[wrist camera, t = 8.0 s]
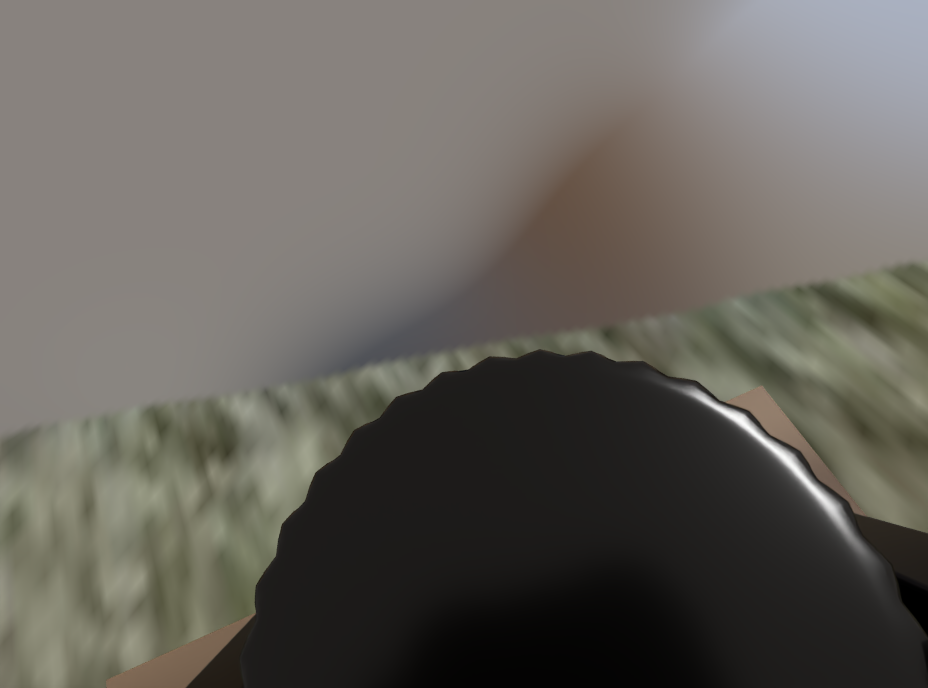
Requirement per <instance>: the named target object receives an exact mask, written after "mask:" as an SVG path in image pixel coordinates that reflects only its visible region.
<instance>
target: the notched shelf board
mask: <svg viewBox="0 0 928 688" xmlns="http://www.w3.org/2000/svg"><path fill="white" fill-rule="evenodd" d="M726 403H729V404H732V405H736V406H738V407H741V408H744V409H746V410H749V411H750V412H751V413H752V414H753V415H754V416H755V417H756V418H757V419H758V421H759V422H760V423H761V425H762V427H763V428H764V429H765V430H766V431H767V432H768V433H769V434H770V435H771V436H774V437H776V438H778V439H780V440H782V441H784V442H786V443H788V444H789V445H791V446H793V447H795V448H796V449H798V450H800V451H801V452H802V454H803V455H804V457H805V458H806V460H807V461H808V463H809V464H810V466H811V469H812V471H813V472H814V474H815V475H816V477H817V478H818V480H820V481H821V482H823V483H824V484H826V485H827V486H828V487H830V488H831V489H833V490H834V491H835V492H837V493H838V494H839V495H840V496H842V497H843V498H844V499H846V500H847V501H848V502H849V504H850V506H851V508H852V510H853V512H854V513H856V514H859V515H863V516H866V515H865V513H864V512H863V511H862V510H861V509H860V507H859V506H858V505H857V504H856V502H855V501H854V500H853V499H852V497H851V496H850V495H849V494H848V492H847V491H846V490H845V489H844V487H843V486H842V485H841V484H840V482H839V481H838V480H837V479H836V477H835V476H834V475H833V474H832V472H831V471H830V470H829V469H828V467H827V466H826V465H825V464H824V462H823V461H822V460H821V459H820V457H819V456H818V455H817V454H816V452H815V451H814V450H813V449H812V448H811V446H810V445H809V444H808V443H807V441H806V440H805V439H804V438H803V436H802V435H801V434H800V433H799V431H798V430H797V429H796V428H795V426H794V425H793V424H792V423H791V421H790V420H789V419H788V418H787V416H786V415H785V414H784V413H783V411H782V410H781V409H780V408H779V406H778V405H777V404H776V403H775V401H774V400H773V399H772V398H771V396H770V395H769V394H768V393H767V391H766V390H765V389H764V388H763V387H762V386H759V387H757V388H755V389H753V390H751V391H748V392H746V393H744V394H742V395H739V396H737V397H735V398H733V399H731V400H728V401H726ZM255 614H256V613H254V614H252V615H250V616H248V617H246V618H243V619H241V620H239V621H237V622H234V623H232V624H230V625H228V626H226V627H223V628H221V629H219V630H217V631H214V632H212V633H210V634H208V635H206V636H203V637H201V638H199V639H197V640H194V641H192V642H190V643H188V644H186V645H183V646H181V647H179V648H177V649H174V650H172V651H170V652H168V653H165V654H163V655H161V656H159V657H157V658H154V659H152V660H150V661H148V662H145V663H143V664H141V665H139V666H137V667H134V668H132V669H130V670H128V671H125V672H123V673H121V674H119V675H117V676H114V677H112V678H110V679H108V680H106V684H107V688H186V686H187V685H188V684H189V683H190V682H191V681H192V680H193V679H194V678H195V677H196V676H197V675H198V674H199V673H200V672H201V671H202V670H203V669H204V668H205V667H206V665H207V664H208V663H209V662H210V661H211V660H212V659H213V658H214V657H215V656H216V655H217V654H218V653H219V652H220V651H221V650H222V649H223V648H224V647H225V646H226V644H227V643H228V642H229V641H230V640H231V639H232V638H233V637H234V636H235V635H236V634H237V633H238V632H239V631H240V630H241V629H242V628H243V627H244V626H245V625H246V623H247V622H248V621H249V620H250V619H251V618H252V617H253V616H254V615H255Z"/></svg>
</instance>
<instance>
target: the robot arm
mask: <svg viewBox="0 0 928 688" xmlns="http://www.w3.org/2000/svg"><path fill="white" fill-rule="evenodd" d="M854 514H855V516H856V518H857V523H858V526H859V528H860V530H861V532H862V534H863V536H865V537H866V538H867V539H868V540H869V541H870V542H871V543H872V544H873V545H874V546H875V547H876V548H877V549H878V550H879V551H880V552H881V553H882V554H883V555H884V556H885V557H886V558H887V559H888V560H889V561H890V563H891V564H892V565H893V568H894V571H895V574H896V577H897V581H898V584H899V589H900V594H901V599H902V602H903V603H904V605H905V606H906V607H907V608H908V610H909V611H910V612H911V613H912V615H913V616H914V617H915V618H916V620H917V621H918V623H919V624H920V625H921V627H922V628H923V630H924V631H925V633H926V634H927V635H928V533H925V532H921V531H917V530H914V529H910V528H906V527H903V526H899V525H896V524H892V523H888V522H885V521H881V520H878V519H874V518H870V517H867V516H863V515H859V514H856V513H854ZM255 621H256V614H255V615H254V616H253V617H252V618H251V619H250V620H249V621H248V622H247V623H246V625H245V626H244V627H243V628H242V629H241V630H240V631H239V632H238V633H237V634H236V635H235V636H234V637H233V638H232V639H231V640H230V641H229V642H228V643H227V644H226V646H225V647H224V648H223V649H222V650H221V651H220V652H219V653H218V654H217V655H216V656H215V657H214V658H213V659H212V660H211V661H210V662H209V663H208V664H207V665H206V667H205V668H204V669H203V670H202V671H201V672H200V673H199V674H198V675H197V676H196V677H195V678H194V679H193V680H192V681H191V682H190V683H189V684H188V685H187V686H186V688H244V684H243V681H242V678H241V673H240V662H239V656H240V654H241V651H242V649H243V646H244V644H245V641H246V639H247V637H248V635H249V633H250V631H251V629H252V627H253V625H254V623H255Z"/></svg>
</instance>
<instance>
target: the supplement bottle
mask: <svg viewBox="0 0 928 688" xmlns="http://www.w3.org/2000/svg"><path fill="white" fill-rule="evenodd" d="M255 608H256V621H255V623H254V625H253V627H252V629H251V631H250V633H249V635H248V637H247V639H246V641H245V644H244V646H243V649H242V651H241V654H240V656H239V662H240V673H241V678H242V681H243V684H244V688H928V635H927V634H926V633H925V631H924V630H923V628H922V627H921V625H920V624H919V623H918V621H917V620H916V618H915V617H914V616H913V615H912V613H911V612H910V611H909V610H908V608H907V607H906V606H905V605H904V603H903V602H902V599H901V594H900V589H899V584H898V581H897V577H896V574H895V571H894V568H893V565H892V564H891V563H890V561H889V560H888V559H887V558H886V557H885V556H884V555H883V554H882V553H881V552H880V551H879V550H878V549H877V548H876V547H875V546H874V545H873V544H872V543H871V542H870V541H869V540H868V539H867V538H866V537H865V536H863V534H862V532H861V530H860V528H859V526H858V523H857V518H856V516H855V514H854V512H853V510H852V508H851V506H850V504H849V502H848V501H847V500H846V499H844V498H843V497H842V496H840V495H839V494H838V493H837V492H835V491H834V490H833V489H831V488H830V487H828V486H827V485H826V484H824V483H823V482H821V481H820V480H818V478H817V477H816V475H815V474H814V472H813V471H812V469H811V466H810V464H809V463H808V461H807V460H806V458H805V457H804V455H803V454H802V452H801V451H800V450H798V449H796V448H795V447H793V446H791V445H789V444H788V443H786V442H784V441H782V440H780V439H778V438H776V437H774V436H771V435H770V434H769V433H768V432H767V431H766V430H765V429H764V428H763V427H762V425H761V423H760V422H759V421H758V419H757V418H756V417H755V416H754V415H753V414H752V413H751V412H750V411H749V410H746V409H744V408H741V407H738V406H736V405H732V404H729V403H726V402H722V401H719V400H718V399H717V398H716V397H715V396H714V395H713V394H712V393H711V392H710V391H709V390H707V389H706V388H705V387H704V386H702V385H701V384H700V383H699V382H697V381H694V380H689V379H684V378H676V377H668V376H666V375H665V374H663V373H661V372H660V371H658V370H657V369H656V368H655V367H653V366H651V365H649V364H648V363H646V362H644V361H621V362H616V361H613V360H611V359H608V358H606V357H605V356H603V355H601V354H598V353H595V352H593V351H587V352H581V353H576V354H571V355H567V356H564V355H560V354H556V353H554V352H550V351H545V350H541V349H539V350H536V351H533V352H530V353H528V354H525V355H523V356H521V357H518V358H507V357H488V358H486V359H484V360H482V361H481V362H479V363H477V364H476V365H474V366H473V367H471V368H470V369H469V370H463V371H448V372H442V373H440V374H439V375H438V376H437V377H435V378H434V379H433V380H432V381H431V382H430V383H429V384H428V385H427V386H426V387H425V388H424V389H423V390H418V391H414V392H410V393H407V394H404V395H401V396H398V397H396V398H395V399H394V400H393V401H392V402H391V403H390V405H389V406H388V407H387V408H386V410H385V411H384V412H383V414H382V415H381V417H380V418H378V419H377V420H375V421H373V422H370V423H367V424H365V425H363V426H361V427H359V428H357V429H355V430H354V431H353V433H352V434H351V436H350V437H349V439H348V441H347V442H346V444H345V446H344V448H343V450H342V453H341V455H340V456H338V457H337V458H336V459H334V460H333V461H331V462H329V463H327V464H326V465H325V466H323V467H322V468H321V469H319V470H318V471H317V472H316V473H315V475H314V477H313V480H312V482H311V484H310V487H309V490H308V494H307V497H306V500H305V502H304V503H303V504H302V505H301V506H300V507H299V508H298V509H297V510H295V511H294V512H293V513H292V514H291V515H290V516H289V517H288V518H287V519H286V520H285V521H284V523H283V524H282V526H281V530H280V534H279V538H278V545H277V553H276V557H275V558H274V560H273V561H272V562H271V564H270V565H269V566H268V568H267V569H266V570H265V572H264V573H263V575H262V577H261V578H260V580H259V581H258V583H257V585H256V590H255Z"/></svg>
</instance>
